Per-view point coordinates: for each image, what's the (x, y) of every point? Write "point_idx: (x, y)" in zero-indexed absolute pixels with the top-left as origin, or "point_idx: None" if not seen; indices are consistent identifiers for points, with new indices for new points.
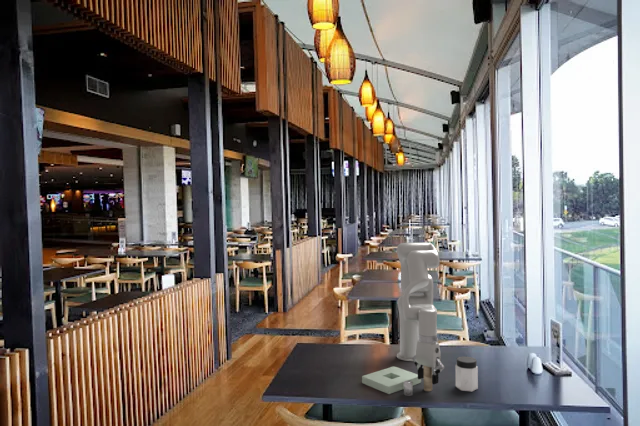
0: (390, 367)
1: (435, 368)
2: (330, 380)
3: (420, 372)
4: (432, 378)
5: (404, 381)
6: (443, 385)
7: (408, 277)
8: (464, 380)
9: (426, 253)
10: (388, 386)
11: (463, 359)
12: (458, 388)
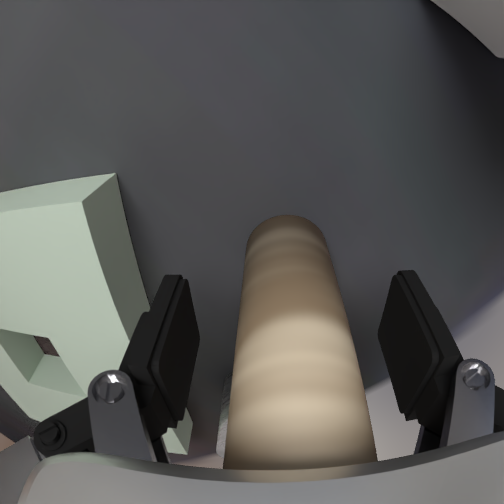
0: None
1: (444, 440)
2: (14, 412)
3: (183, 384)
4: (397, 382)
5: (223, 456)
6: (316, 41)
7: None
8: None
9: None
10: (181, 452)
11: None
12: (464, 26)
